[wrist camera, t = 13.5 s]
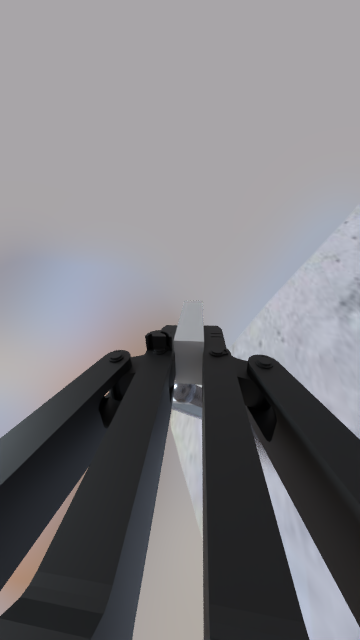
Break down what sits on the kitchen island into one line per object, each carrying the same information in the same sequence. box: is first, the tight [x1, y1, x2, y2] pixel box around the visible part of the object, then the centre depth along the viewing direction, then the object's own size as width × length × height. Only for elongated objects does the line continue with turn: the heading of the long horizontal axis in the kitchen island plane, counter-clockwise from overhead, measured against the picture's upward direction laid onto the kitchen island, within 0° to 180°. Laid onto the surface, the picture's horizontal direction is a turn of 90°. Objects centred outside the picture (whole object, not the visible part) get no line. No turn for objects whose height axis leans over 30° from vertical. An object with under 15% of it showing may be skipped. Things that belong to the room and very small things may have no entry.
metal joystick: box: [174, 382, 260, 441], centre depth 27 cm, size 5×5×22 cm
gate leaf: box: [171, 397, 202, 419], centre depth 33 cm, size 12×2×17 cm, turn 71°
